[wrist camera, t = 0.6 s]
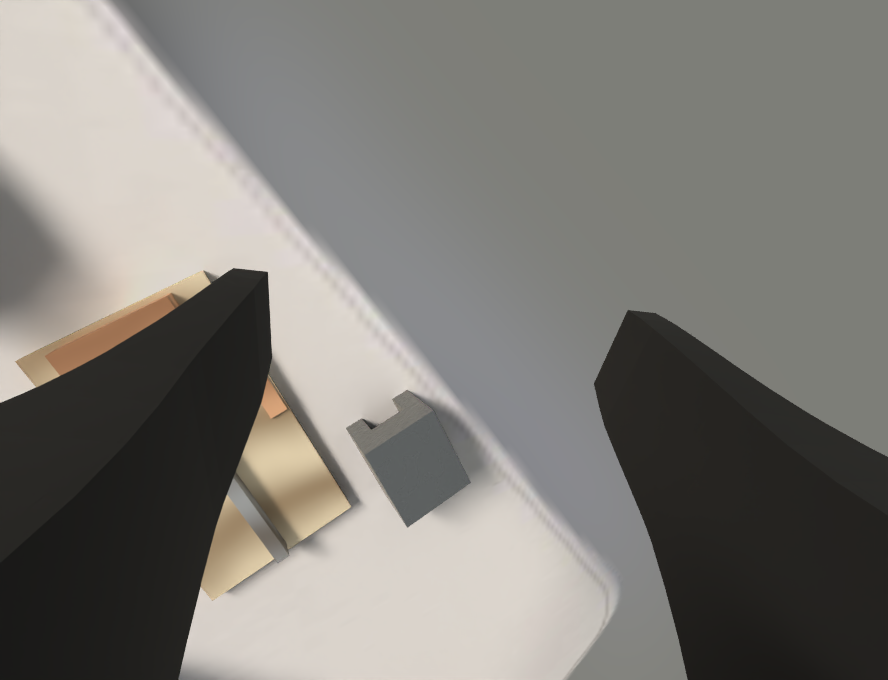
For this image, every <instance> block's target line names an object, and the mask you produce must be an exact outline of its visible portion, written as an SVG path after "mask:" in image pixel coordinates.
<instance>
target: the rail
mask: <svg viewBox="0 0 888 680" xmlns="http://www.w3.org/2000/svg"><path fill="white" fill-rule="evenodd" d="M210 284H211V282H210V280H209V279H208V277H207V276H206V274H205V272H204V271H201V272H199V273H197V274H195V275H192V276H190V277H188V278H186V279H184V280H182V281H180V282H178V283H176V284H174V285H172V286H170V287H168V288H165V289H163V290H161V291H159V292H157V293H155V294H153V295H151V296H149V297H147V298H145V299H143V300H141V301H139V302H136V303H134V304H132V305H130V306H128V307H126V308H124V309H122V310H120V311H118V312H116V313H114V314H112V315H110V316H107V317H105V318H103V319H101V320H99V321H97V322H95V323H93V324H91V325H89V326H87V327H85V328H83V329H80V330H78V331H76V332H74V333H72V334H70V335H68V336H66V337H64V338H62V339H60V340H58V341H56V342H54V343H51V344H49V345H47V346H45V347H43V348H41V349H39V350H37V351H35V352H33V353H31V354H29V355H27V356H25V357H23V358H21V359H19V360H17V361H15V362H16V363H17V364H18V366H19V367H20V368H21V369H22V371H23V372H24V373H25V374H26V375H27V377H28V378H29V379H30V380H31V381H32V383H33V384H34V385H35V386H36V387H38V386H40V385H42V384H44V383H46V382H48V381H51V380H53V379H55V378H57V377H59V376H61V375H63V374H65V373H67V372H69V371H71V370H73V369H75V368H77V367H79V366H81V365H82V364H84V363H86V362H88V361H90V360H92V359H94V358H96V357H97V356H99V355H101V354H103V353H105V352H106V351H108V350H110V349H111V348H113V347H115V346H116V345H118V344H120V343H121V342H123V341H125V340H126V339H128V338H129V337H131V336H133V335H134V334H136V333H138V332H139V331H141V330H143V329H144V328H146V327H148V326H149V325H151V324H153V323H154V322H156V321H157V320H159V319H160V318H162V317H163V316H165V315H166V314H168V313H169V312H171V311H172V310H174V309H175V308H177V307H178V306H180V305H181V304H183V303H184V302H185V301H187V300H188V299H190V298H191V297H193V296H194V295H196V294H197V293H198V292H200V291H201V290H203V289H204V288H205V287H207V286H208V285H210ZM349 508H351V506H350V504H349V502H348V500H347V498H346V496H345V495H344V493H343V492H342V490H341V488H340V487H339V485H338V484H337V482H336V481H335V479H334V477H333V476H332V474H331V473H330V471H329V469H328V468H327V466H326V465H325V463H324V461H323V460H322V458H321V457H320V455H319V454H318V452H317V450H316V449H315V447H314V446H313V444H312V442H311V441H310V439H309V438H308V436H307V434H306V433H305V431H304V430H303V428H302V426H301V425H300V423H299V422H298V420H297V419H296V417H295V415H294V414H293V412H292V411H291V409H290V407H289V406H288V404H287V403H286V401H285V399H284V398H283V396H282V395H281V393H280V392H279V390H278V388H277V387H276V385H275V384H274V382H273V380H272V379H271V377H270V376H269V374H268V378H267V382H266V386H265V391H264V395H263V399H262V403H261V405H260V408H259V411H258V414H257V416H256V419H255V422H254V424H253V427H252V430H251V432H250V435H249V438H248V441H247V443H246V446H245V448H244V451H243V454H242V456H241V459H240V462H239V464H238V467H237V470H236V472H235V475H234V477H233V480H232V483H231V485H230V488H229V491H228V493H227V496H226V499H225V501H224V504H223V507H222V510H221V513H220V516H219V519H218V522H217V525H216V529H215V533H214V536H213V540H212V544H211V548H210V552H209V555H208V559H207V563H206V567H205V571H204V574H203V578H202V582H201V587H202V589H203V590H204V591H205V592H206V593H207V595H208V596H209V597H210V598H211V600H212V601H213V600H215V599H216V598H217V597H219V596H220V595H222V594H223V593H225V592H226V591H228V590H229V589H231V588H232V587H234V586H235V585H237V584H238V583H240V582H241V581H243V580H244V579H246V578H247V577H249V576H250V575H252V574H253V573H254V572H256V571H257V570H259V569H260V568H262V567H263V566H265V565H266V564H268V563H269V562H271V561H272V560H274V559H275V560H276V562H277V563H279V562H280V561H282V560H283V559H285V558H286V557H288V556H289V552H288V549H290V548H291V547H293V546H294V545H296V544H297V543H299V542H300V541H302V540H303V539H305V538H306V537H308V536H309V535H311V534H312V533H314V532H315V531H317V530H318V529H320V528H321V527H322V526H324V525H325V524H327V523H328V522H330V521H331V520H333V519H334V518H336V517H337V516H339V515H340V514H342V513H343V512H345V511H346V510H348V509H349Z"/></svg>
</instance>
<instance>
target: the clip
mask: <svg viewBox="0 0 888 680" xmlns="http://www.w3.org/2000/svg"><path fill="white" fill-rule="evenodd" d="M392 400H393V402H394V404H395V405H396V407H397V409H398V411H399V413H397V414H396V415H394V416H392V417H391V418H389V419H388V420H386V421H385V422H383V423H381V424H380V425H378V426H377V427H375V428H374V429H372V430H371V429H370V428H369V427H368V425H367V424H366V423H365V422H364V421H363V419H360V420H358V421H357V422H355V423H353V424H352V425H350V426H349V427H347V428H346V429H347V431H348V433H349V434H350V436H351V438H352V439H353V441H354V443H355V444H356V446H357V448H358V449H359V451H360V453H361V454H362V456H363V458H364V460H365V461H366V463H367V465H368V466H369V468H370V470H371V471H372V473H373V475H374V476H375V478H376V480H377V481H378V483H379V485H380V487H381V488H382V490H383V492H384V493H385V495H386V496H387V498H388V499H389V501H390V502H391V504H392V505H393V507H394V508H395V510H396V511H397V513H398V514H399V516H400V517H401V519H402V520H403V522H404V523H405V525H406V526H407V528H408V527H409V526H410V525H412V524H413V523H415V522H416V521H417V520H419V519H420V518H422V517H423V516H424V515H426V514H427V513H429V512H430V511H431V510H433V509H434V508H436V507H437V506H438V505H440V504H441V503H443V502H444V501H445V500H447V499H448V498H450V497H451V496H452V495H454V494H455V493H457V492H458V491H459V490H461V489H462V488H464V487H465V486H466V485H468V484H469V483H471V482H470V480H469V478H468V476H467V475H466V473H465V471H464V469H463V467H462V465H461V463H460V461H459V459H458V457H457V455H456V453H455V451H454V449H453V447H452V445H451V443H450V441H449V439H448V437H447V435H446V433H445V431H444V430H443V428H442V426H441V424H440V422H439V420H438V418H437V416H436V414H435V412H434V410H433V409H431V408H430V407H429V406H427V405H426V404H425V403H423V402H422V401H421V400H420V399H418V398H417V397H416V396H414V395H413V394H412V393H410V392H409V391H408V390H406V391H405V392H403V393H402V394H400V395H398V396H397V397H395V398H394V399H392Z"/></svg>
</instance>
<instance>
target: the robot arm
mask: <svg viewBox="0 0 888 680" xmlns="http://www.w3.org/2000/svg"><path fill="white" fill-rule="evenodd" d="M271 359H272V349H271V328H270V308H269V287H268V272H263V271H254V270H245V269H235V268H233V269H232V270H230V271H228V272H227V273H225V274H224V275H222V276H221V277H220V278H218V279H217V280H215V281H214V282H213V283H211V284H210V285H208V286H207V287H205V288H204V289H203V290H201V291H200V292H198V293H197V294H196V295H194V296H193V297H191V298H190V299H188V300H187V301H185V302H184V303H183V304H181V305H180V306H178V307H177V308H175V309H174V310H172V311H171V312H169V313H168V314H166V315H165V316H163V317H162V318H160V319H159V320H157V321H156V322H154V323H153V324H151V325H149V326H148V327H146V328H144V329H143V330H141V331H139V332H138V333H136V334H134V335H133V336H131V337H129V338H128V339H126V340H125V341H123V342H121V343H120V344H118V345H116V346H115V347H113V348H111V349H110V350H108V351H106V352H105V353H103V354H101V355H99V356H97V357H96V358H94V359H92V360H90V361H88V362H86V363H84V364H82V365H81V366H79V367H77V368H75V369H73V370H71V371H69V372H67V373H65V374H63V375H61V376H59V377H57V378H55V379H53V380H51V381H48V382H46V383H44V384H42V385H40V386H38V387H36V388H34V389H32V390H30V391H27V392H25V393H23V394H21V395H18V396H16V397H14V398H11V399H9V400H6V401H4V402H2V403H0V680H178V678H179V674H180V669H181V665H182V661H183V656H184V652H185V648H186V643H187V639H188V635H189V631H190V627H191V623H192V619H193V615H194V611H195V607H196V602H197V598H198V594H199V590H200V586H201V582H202V578H203V574H204V571H205V567H206V563H207V559H208V555H209V552H210V548H211V544H212V540H213V536H214V533H215V529H216V525H217V522H218V519H219V516H220V513H221V510H222V507H223V504H224V501H225V499H226V496H227V493H228V491H229V488H230V485H231V483H232V480H233V477H234V475H235V472H236V470H237V467H238V464H239V462H240V459H241V456H242V454H243V451H244V448H245V446H246V443H247V441H248V438H249V435H250V432H251V430H252V427H253V424H254V422H255V419H256V416H257V414H258V411H259V408H260V405H261V403H262V399H263V395H264V391H265V386H266V382H267V378H268V373H269V368H270V364H271ZM594 386H595V390H596V394H597V399H598V403H599V408H600V411H601V415H602V419H603V422H604V426H605V428H606V431H607V433H608V436H609V438H610V441H611V443H612V446H613V448H614V451H615V453H616V456H617V458H618V460H619V463H620V465H621V467H622V470H623V472H624V475H625V477H626V479H627V482H628V484H629V486H630V489H631V491H632V494H633V496H634V498H635V501H636V503H637V506H638V508H639V510H640V513H641V515H642V517H643V520H644V523H645V525H646V528H647V531H648V534H649V536H650V539H651V542H652V545H653V548H654V552H655V555H656V558H657V562H658V565H659V569H660V572H661V575H662V579H663V582H664V585H665V589H666V593H667V597H668V600H669V604H670V608H671V612H672V615H673V619H674V623H675V627H676V631H677V635H678V638H679V643H680V647H681V652H682V656H683V660H684V665H685V669H686V674H687V678H688V680H888V457H887V456H885V455H883V454H881V453H879V452H877V451H875V450H873V449H871V448H869V447H867V446H865V445H864V444H862V443H860V442H858V441H856V440H854V439H853V438H851V437H849V436H847V435H846V434H844V433H842V432H840V431H838V430H837V429H835V428H833V427H831V426H829V425H828V424H825V423H824V422H822V421H821V420H819V419H817V418H816V417H814V416H812V415H810V414H809V413H807V412H805V411H804V410H802V409H801V408H799V407H797V406H796V405H794V404H793V403H791V402H790V401H788V400H786V399H785V398H783V397H782V396H780V395H779V394H777V393H775V392H774V391H772V390H771V389H769V388H768V387H766V386H765V385H763V384H762V383H760V382H759V381H757V380H756V379H754V378H753V377H751V376H750V375H748V374H747V373H745V372H744V371H742V370H741V369H739V368H738V367H736V366H735V365H733V364H732V363H731V362H729V361H728V360H726V359H725V358H724V357H722V356H721V355H719V354H718V353H716V352H715V351H713V350H712V349H710V348H709V347H708V346H706V345H705V344H703V343H702V342H701V341H699V340H698V339H696V338H695V337H693V336H692V335H690V334H689V333H687V332H686V331H684V330H683V329H681V328H680V327H678V326H677V325H675V324H673V323H672V322H670V321H668V320H667V319H665V318H663V317H661V316H659V315H657V314H656V313H649V312H639V311H630V310H628V311H627V313H626V315H625V317H624V320H623V322H622V324H621V326H620V328H619V330H618V333H617V335H616V337H615V339H614V341H613V343H612V346H611V348H610V350H609V352H608V354H607V356H606V359H605V361H604V363H603V365H602V368H601V370H600V372H599V374H598V377H597V378H596V380H595V383H594Z"/></svg>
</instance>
